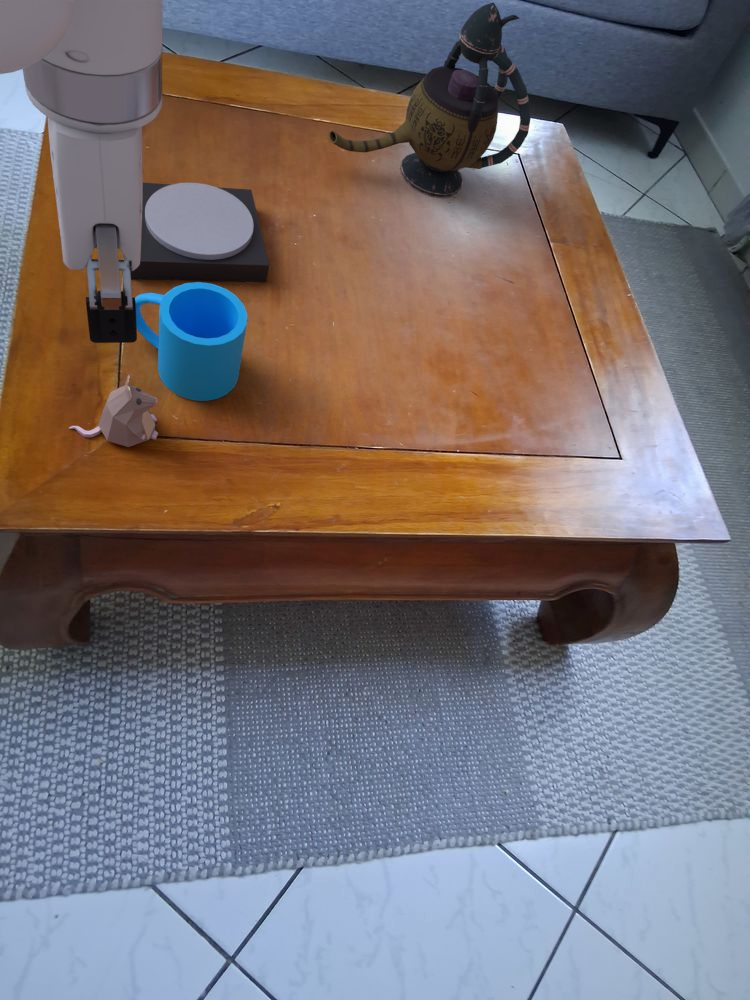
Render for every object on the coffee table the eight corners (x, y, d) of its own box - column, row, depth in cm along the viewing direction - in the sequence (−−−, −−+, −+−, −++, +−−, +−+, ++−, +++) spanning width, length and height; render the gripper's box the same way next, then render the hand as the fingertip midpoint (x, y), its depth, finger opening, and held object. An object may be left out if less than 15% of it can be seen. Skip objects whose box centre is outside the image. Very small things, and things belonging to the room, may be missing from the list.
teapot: (501, 206, 108) (578, 39, 89) (334, 202, 99) (380, 15, 80) (472, 151, 113) (539, -17, 94) (311, 143, 104) (349, -45, 85)
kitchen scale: (130, 278, 83) (129, 255, 80) (121, 199, 89) (120, 174, 86) (266, 282, 88) (270, 259, 85) (249, 206, 94) (252, 183, 91)
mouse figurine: (68, 406, 72) (62, 359, 67) (155, 406, 75) (156, 360, 69) (69, 451, 70) (63, 406, 64) (159, 449, 72) (161, 405, 67)
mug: (252, 363, 81) (262, 307, 74) (214, 413, 76) (220, 359, 70) (152, 312, 81) (153, 252, 74) (108, 359, 76) (104, 300, 70)
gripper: (20, -23, 46) (53, 210, 60) (22, 163, 38) (59, 382, 52) (149, -6, 48) (151, 214, 63) (176, 172, 40) (172, 379, 55)
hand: (109, 290), depth 57 cm, fingers open, 9 cm apart
